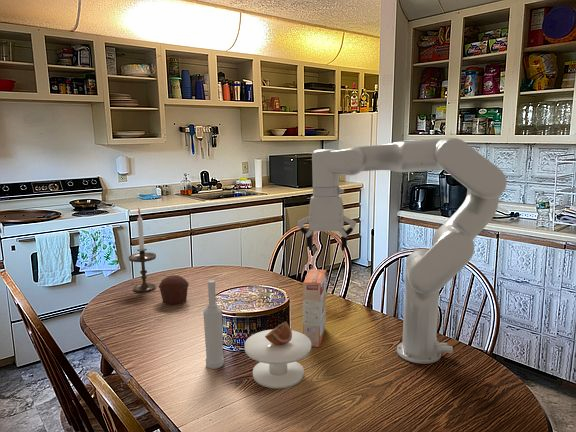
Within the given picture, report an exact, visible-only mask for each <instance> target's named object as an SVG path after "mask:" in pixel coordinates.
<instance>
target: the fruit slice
mask: <svg viewBox="0 0 576 432" xmlns="http://www.w3.org/2000/svg"><path fill="white" fill-rule="evenodd" d="M271 330H272V329H271ZM291 330H292V329H291V326H290V324H289V323H288V322H287V321H284V322H282V323H281V324H279V325H277V326H276V327H274V328H273V330H272V331H270V332H269V333H268V334H267V335H266V336H265V337H266V339H267V340H268V341H270V342H271V343H273V344H276V345H284V344H286V343H288V342H289V341H290V340H291V338H292V331H291Z"/></svg>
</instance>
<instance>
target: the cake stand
mask: <svg viewBox="0 0 576 432" xmlns="http://www.w3.org/2000/svg"><path fill="white" fill-rule="evenodd" d="M273 329H274V328H273ZM273 329H266V330H262V331H259V332H255V333H254V334H252V335H250V336H249V337H248V338H247V339H246V340H245V342H244V352H245V354H246V355H247V356H248V357H249V358H250V359H252V360H254V361H256V362H258V363H257V364H255V366H254V367H253V368H252V379H253V380H254V382H255V383H257V384H258V385H259V386H262V387H264V388H268V389H278V390H279V389H287V388H291V387H294V386H296V385H297V384H299V383H301V381H303V378H304V376H305V370H304V367H303V365H302V364H300V363H299V362H298V361H300V360H303V359H304V358H306V357H307V356H308V355H309V354H310V353H311V351H312V347H311V341H310V339H309V338H308V337H307V336H305V335H304V334H303V332H302V333H301V332H299V331H298V330H297V331H296V330H292V329H291V331H292V338H291V340H290V341H289V342H288V343H286V344H284V345H276V344H273V343H271V342H270V341H268V340H267V339H266V337H265V336H266V335H267V334H268V333H269V332H270V331H272V330H273Z"/></svg>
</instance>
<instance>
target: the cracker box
mask: <svg viewBox="0 0 576 432" xmlns="http://www.w3.org/2000/svg"><path fill="white" fill-rule="evenodd" d="M302 286H303V287H302V334H304V335H305V336H307V337H308V338H309V339H310V341H311V348H321V345H322V341H323V337H324V334H325V330H326V311H327V308H326V306H327V305H326V304H327V303H326V302H327V270H326V269H315V268H313V269H312V268H311V269H309V270H308V273H307V274H306V277H305V279H304V281H303V282H302Z"/></svg>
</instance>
